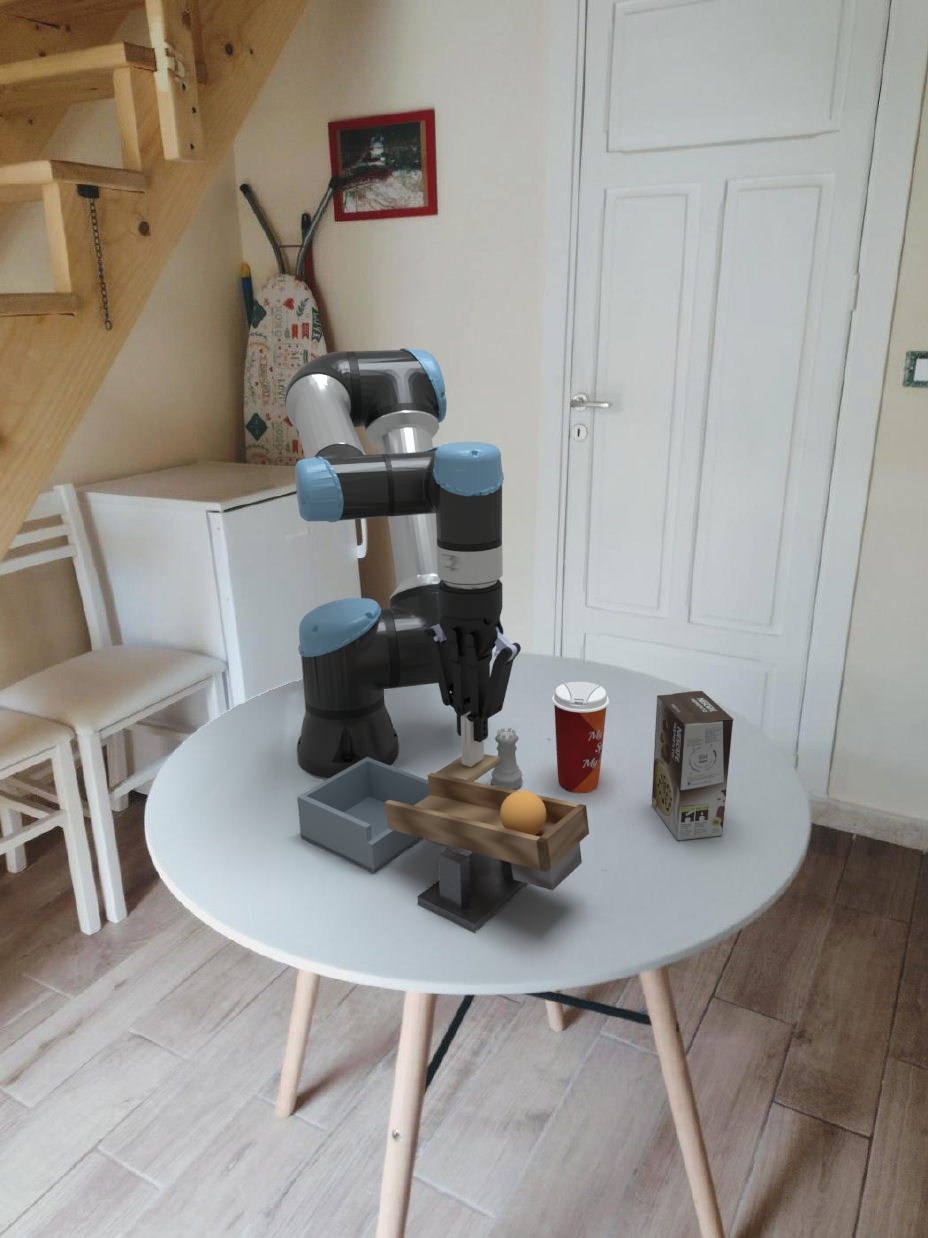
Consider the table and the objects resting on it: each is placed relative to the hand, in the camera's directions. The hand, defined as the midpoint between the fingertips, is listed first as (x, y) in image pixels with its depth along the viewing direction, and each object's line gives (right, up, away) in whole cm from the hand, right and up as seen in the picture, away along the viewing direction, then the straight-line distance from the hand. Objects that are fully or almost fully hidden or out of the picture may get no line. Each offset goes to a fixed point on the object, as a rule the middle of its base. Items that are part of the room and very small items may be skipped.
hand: (472, 761), depth 109 cm
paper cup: (+15, -5, +13) cm, 21 cm away
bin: (-13, -10, +3) cm, 16 cm away
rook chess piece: (+5, -6, +14) cm, 15 cm away
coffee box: (+28, -8, +4) cm, 29 cm away
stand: (+2, -13, -8) cm, 15 cm away
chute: (+4, -8, -7) cm, 11 cm away
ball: (+5, -3, -14) cm, 16 cm away
